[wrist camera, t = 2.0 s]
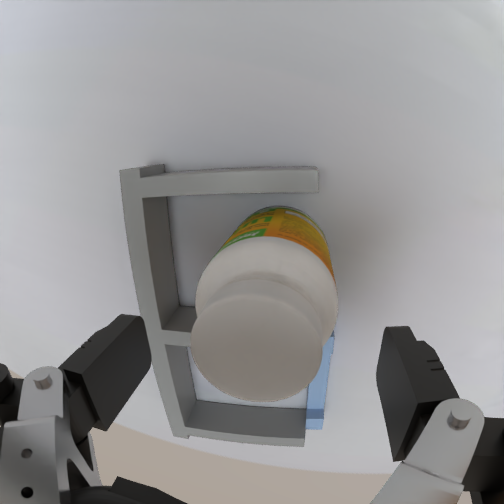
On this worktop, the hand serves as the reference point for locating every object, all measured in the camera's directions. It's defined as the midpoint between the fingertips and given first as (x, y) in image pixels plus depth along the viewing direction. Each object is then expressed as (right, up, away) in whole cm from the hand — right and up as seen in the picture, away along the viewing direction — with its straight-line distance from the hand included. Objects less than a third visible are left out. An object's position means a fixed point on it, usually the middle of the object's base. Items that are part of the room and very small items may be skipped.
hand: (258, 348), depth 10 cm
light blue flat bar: (+4, -5, +10) cm, 12 cm away
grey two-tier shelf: (-1, -1, +10) cm, 10 cm away
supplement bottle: (+1, +3, +8) cm, 9 cm away
